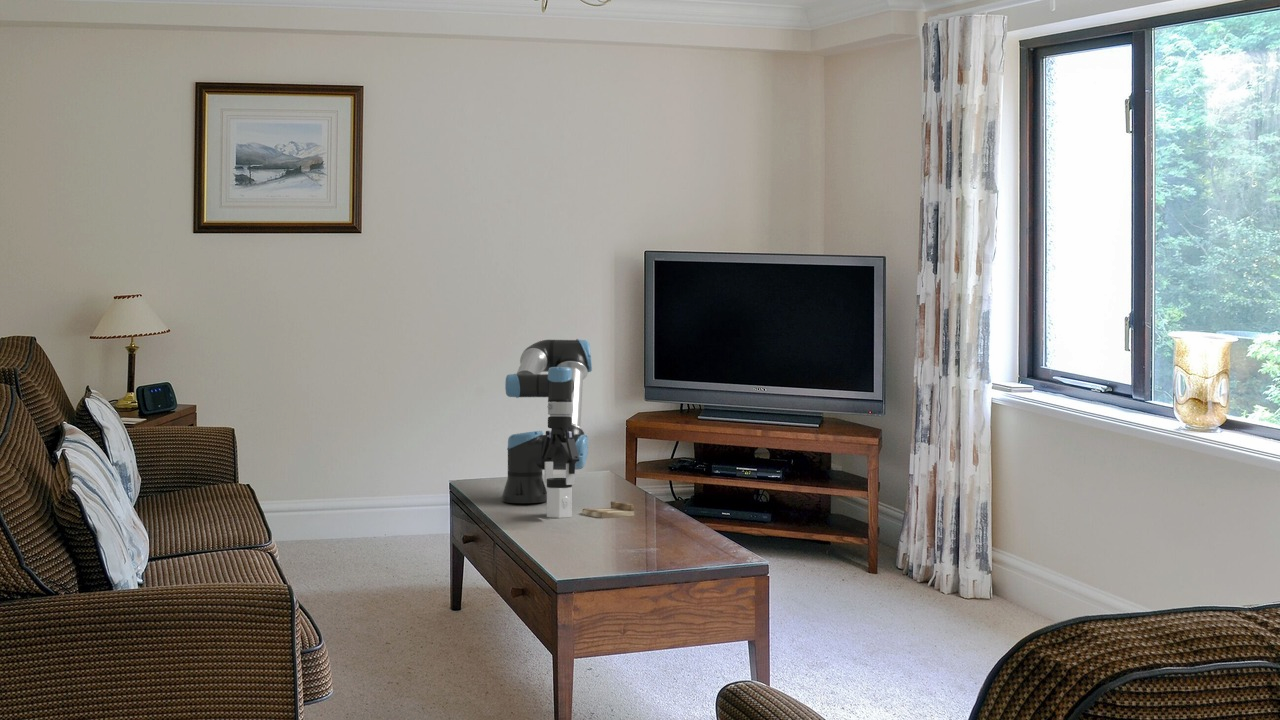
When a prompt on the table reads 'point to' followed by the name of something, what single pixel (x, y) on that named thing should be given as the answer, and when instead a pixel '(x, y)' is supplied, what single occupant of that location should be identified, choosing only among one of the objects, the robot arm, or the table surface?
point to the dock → (611, 511)
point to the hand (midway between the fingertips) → (559, 483)
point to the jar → (559, 498)
